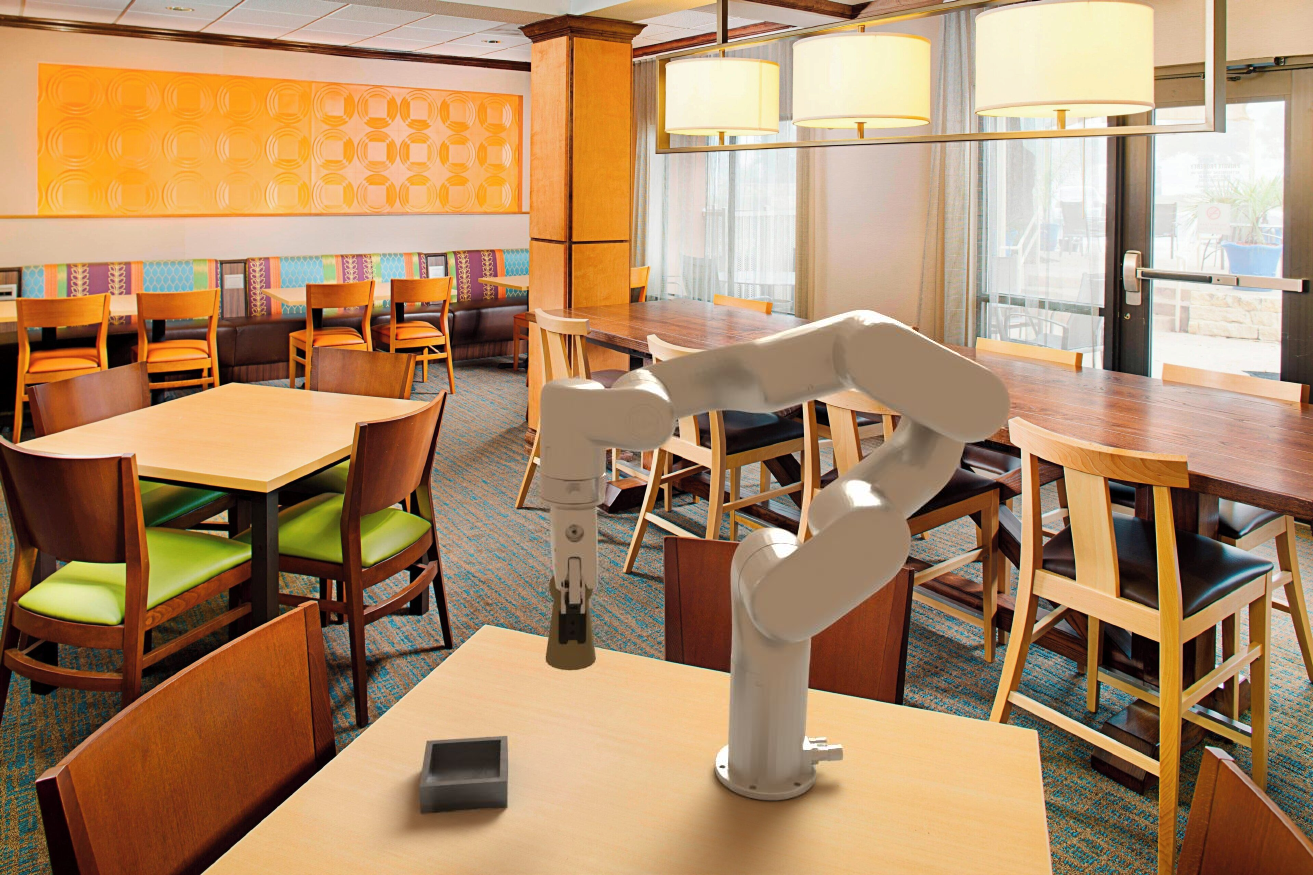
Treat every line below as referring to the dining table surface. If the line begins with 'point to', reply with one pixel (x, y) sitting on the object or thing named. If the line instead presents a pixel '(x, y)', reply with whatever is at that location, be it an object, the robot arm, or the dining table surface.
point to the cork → (572, 652)
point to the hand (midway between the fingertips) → (571, 633)
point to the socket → (464, 774)
